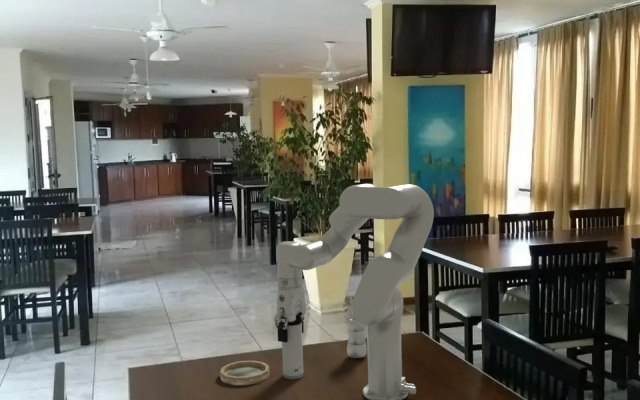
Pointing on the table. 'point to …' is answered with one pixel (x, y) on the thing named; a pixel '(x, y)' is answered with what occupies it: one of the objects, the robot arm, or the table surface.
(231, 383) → the round tray
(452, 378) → the table surface
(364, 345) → the plastic bottle
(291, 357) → the travel mug
